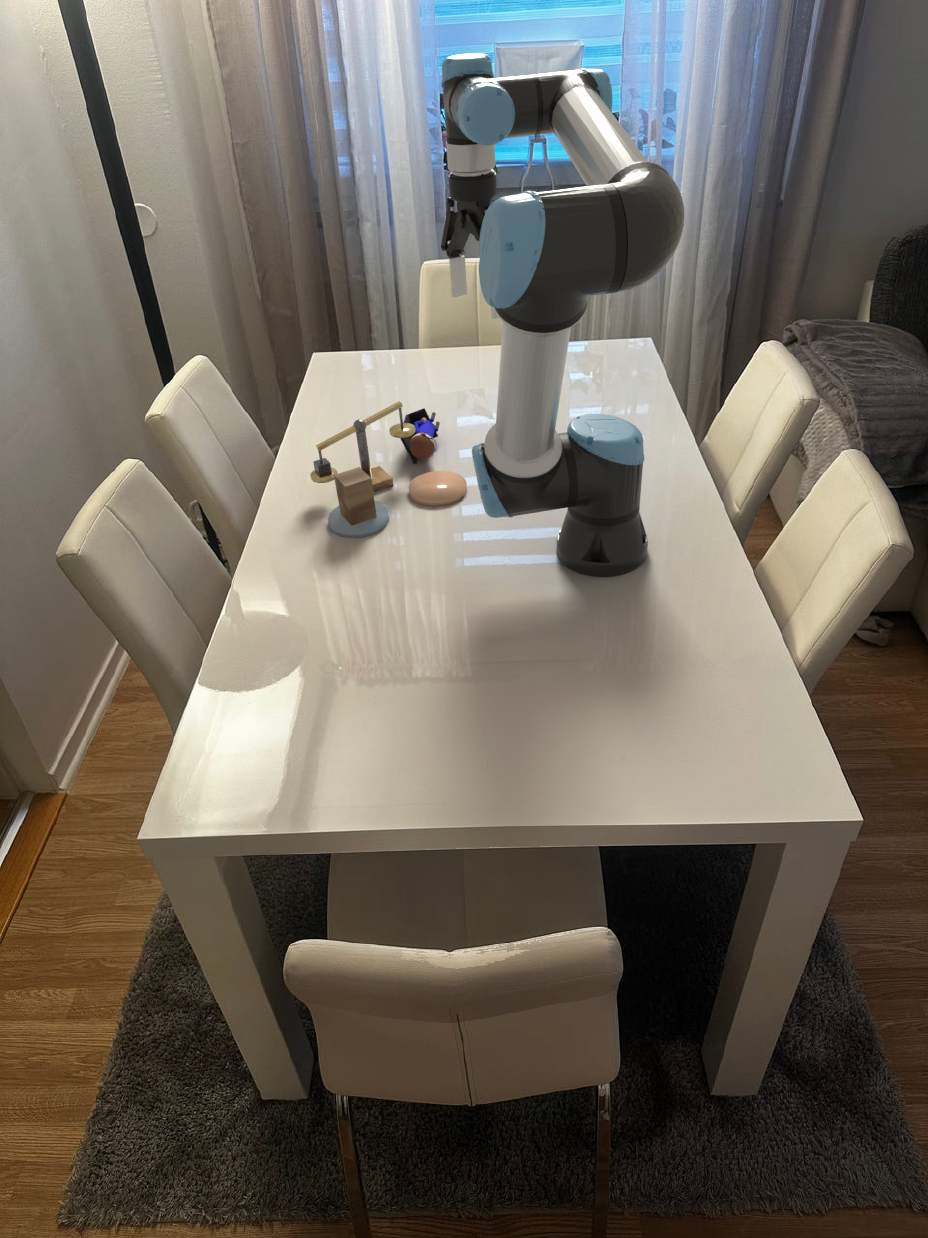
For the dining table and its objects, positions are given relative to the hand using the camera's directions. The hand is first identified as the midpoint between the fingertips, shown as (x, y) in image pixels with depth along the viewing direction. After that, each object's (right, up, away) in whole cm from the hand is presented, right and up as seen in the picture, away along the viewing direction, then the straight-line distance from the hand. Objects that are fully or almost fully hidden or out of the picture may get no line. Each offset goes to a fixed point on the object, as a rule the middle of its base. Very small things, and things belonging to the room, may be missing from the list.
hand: (478, 305), depth 153 cm
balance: (-21, -28, +20) cm, 40 cm away
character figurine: (-11, -20, +29) cm, 37 cm away
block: (-22, -35, +9) cm, 42 cm away
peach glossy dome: (-8, -29, +16) cm, 35 cm away
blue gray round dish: (-22, -36, +10) cm, 43 cm away
